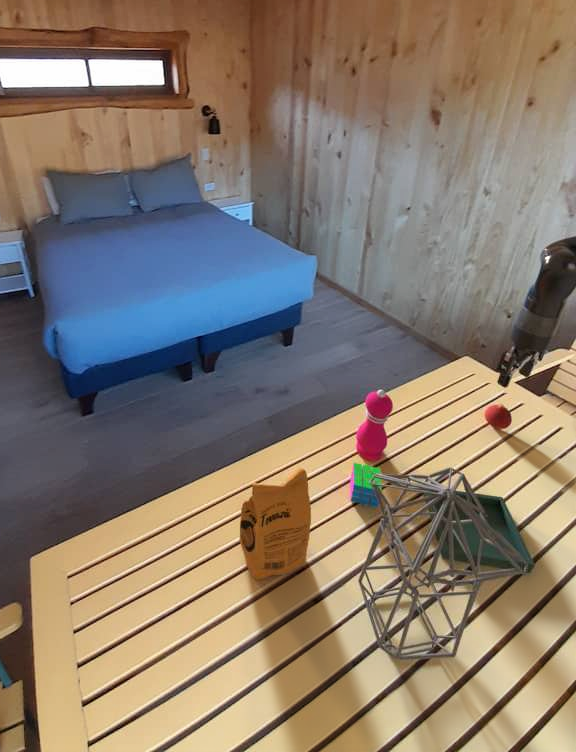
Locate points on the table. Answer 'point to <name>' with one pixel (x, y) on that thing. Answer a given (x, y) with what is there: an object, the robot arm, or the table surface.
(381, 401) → the pepper mill
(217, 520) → the table surface
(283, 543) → the coffee package
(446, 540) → the tray
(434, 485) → the geometric lantern
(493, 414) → the onion
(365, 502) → the puzzle toy
